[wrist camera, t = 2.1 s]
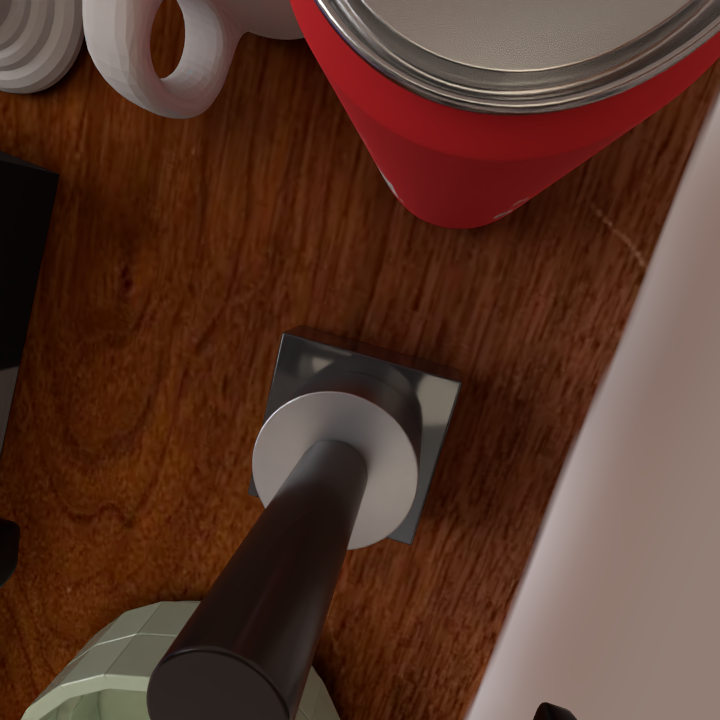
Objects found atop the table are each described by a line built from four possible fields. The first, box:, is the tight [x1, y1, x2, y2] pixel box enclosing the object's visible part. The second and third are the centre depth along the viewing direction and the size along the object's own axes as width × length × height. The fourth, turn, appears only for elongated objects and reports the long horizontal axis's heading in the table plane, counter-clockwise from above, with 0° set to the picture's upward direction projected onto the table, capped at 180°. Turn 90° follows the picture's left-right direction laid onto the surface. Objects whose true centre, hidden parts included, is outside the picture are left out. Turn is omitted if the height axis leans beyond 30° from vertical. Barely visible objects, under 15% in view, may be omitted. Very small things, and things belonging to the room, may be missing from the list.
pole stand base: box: [248, 325, 462, 545], centre depth 17 cm, size 6×6×2 cm
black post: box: [146, 372, 421, 720], centre depth 11 cm, size 5×5×10 cm
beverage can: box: [290, 0, 720, 229], centre depth 10 cm, size 5×5×12 cm
